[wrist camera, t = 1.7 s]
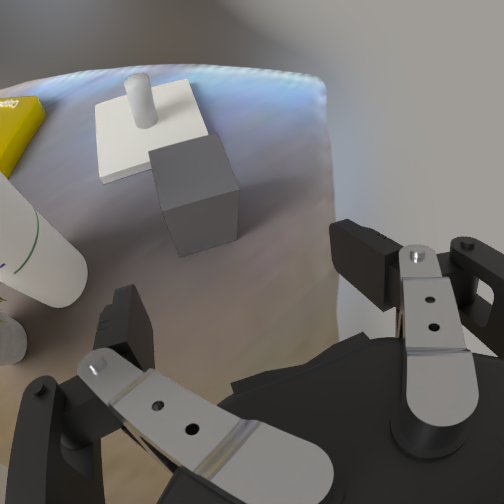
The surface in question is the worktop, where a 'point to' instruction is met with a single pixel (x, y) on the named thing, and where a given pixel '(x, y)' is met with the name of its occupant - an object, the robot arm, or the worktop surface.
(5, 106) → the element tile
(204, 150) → the tall grey pillar
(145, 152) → the stud plate
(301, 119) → the worktop surface
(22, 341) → the house plant
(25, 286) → the cylindrical container
